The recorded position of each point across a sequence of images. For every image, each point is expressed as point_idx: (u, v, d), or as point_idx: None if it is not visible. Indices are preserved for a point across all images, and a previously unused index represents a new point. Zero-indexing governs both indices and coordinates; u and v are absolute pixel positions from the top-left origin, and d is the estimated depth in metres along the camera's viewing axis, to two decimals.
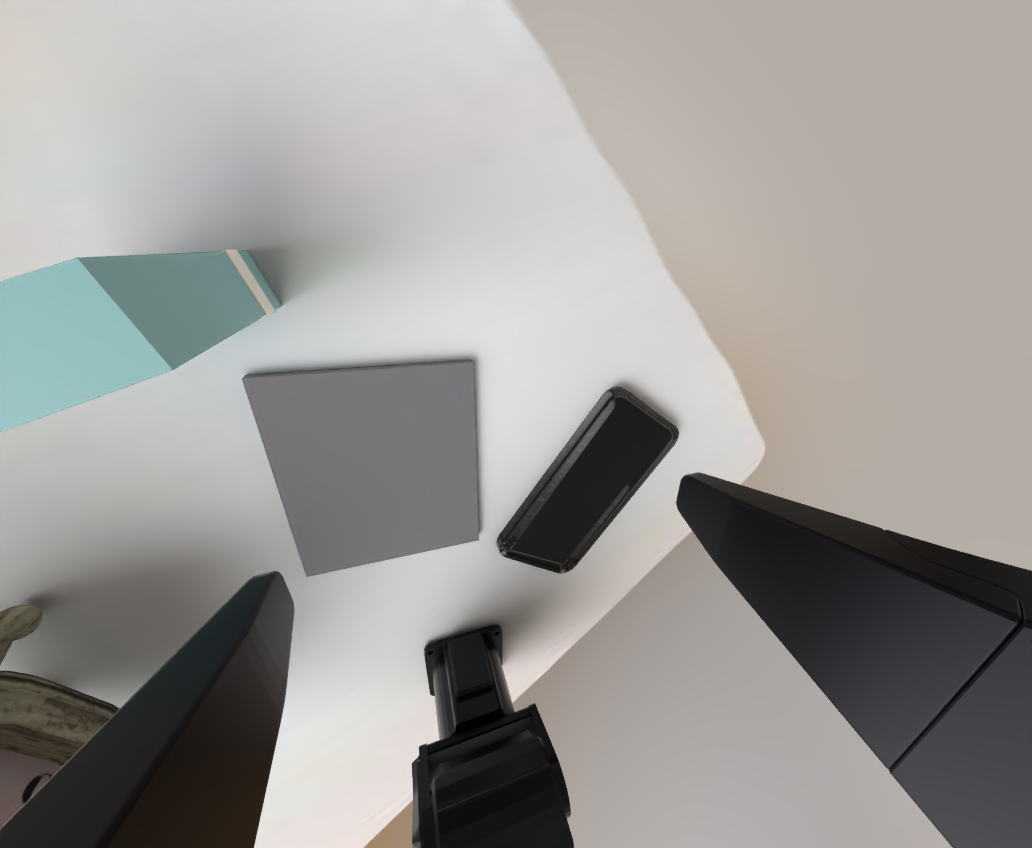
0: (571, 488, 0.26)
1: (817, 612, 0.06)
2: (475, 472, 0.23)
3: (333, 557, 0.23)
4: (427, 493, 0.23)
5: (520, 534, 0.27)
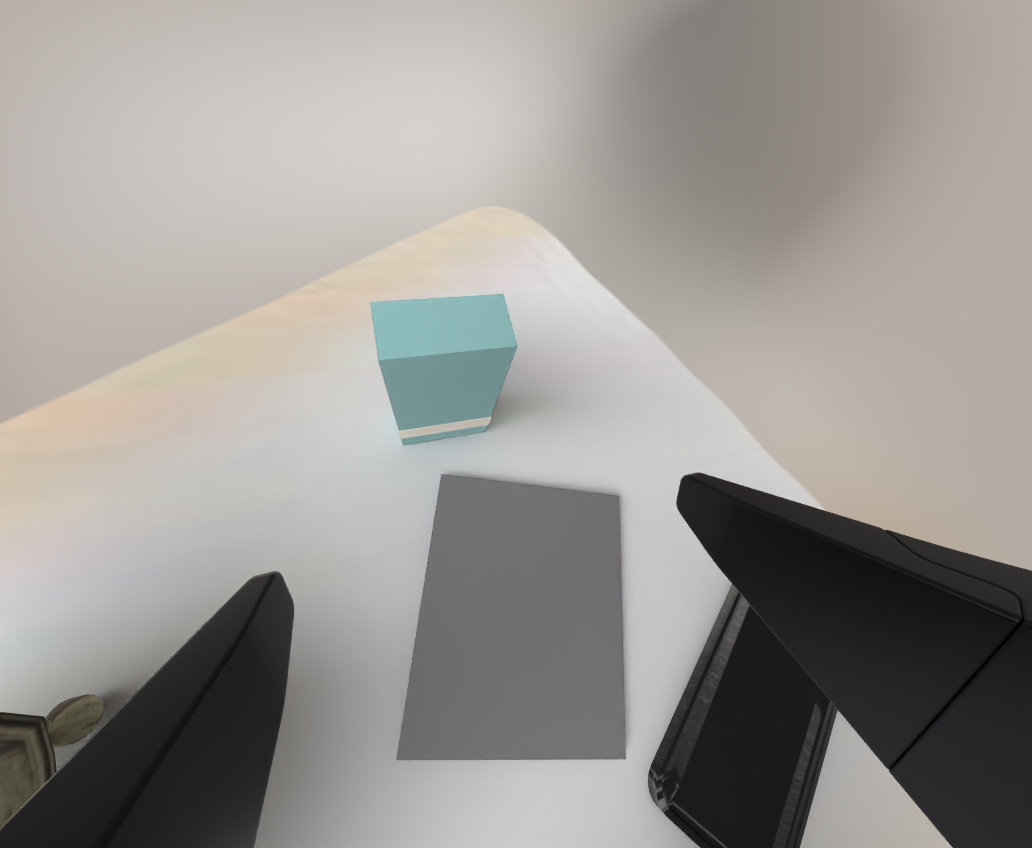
0: (740, 688, 0.20)
1: (817, 612, 0.06)
2: (620, 627, 0.20)
3: (439, 729, 0.17)
4: (566, 645, 0.19)
5: (683, 767, 0.18)
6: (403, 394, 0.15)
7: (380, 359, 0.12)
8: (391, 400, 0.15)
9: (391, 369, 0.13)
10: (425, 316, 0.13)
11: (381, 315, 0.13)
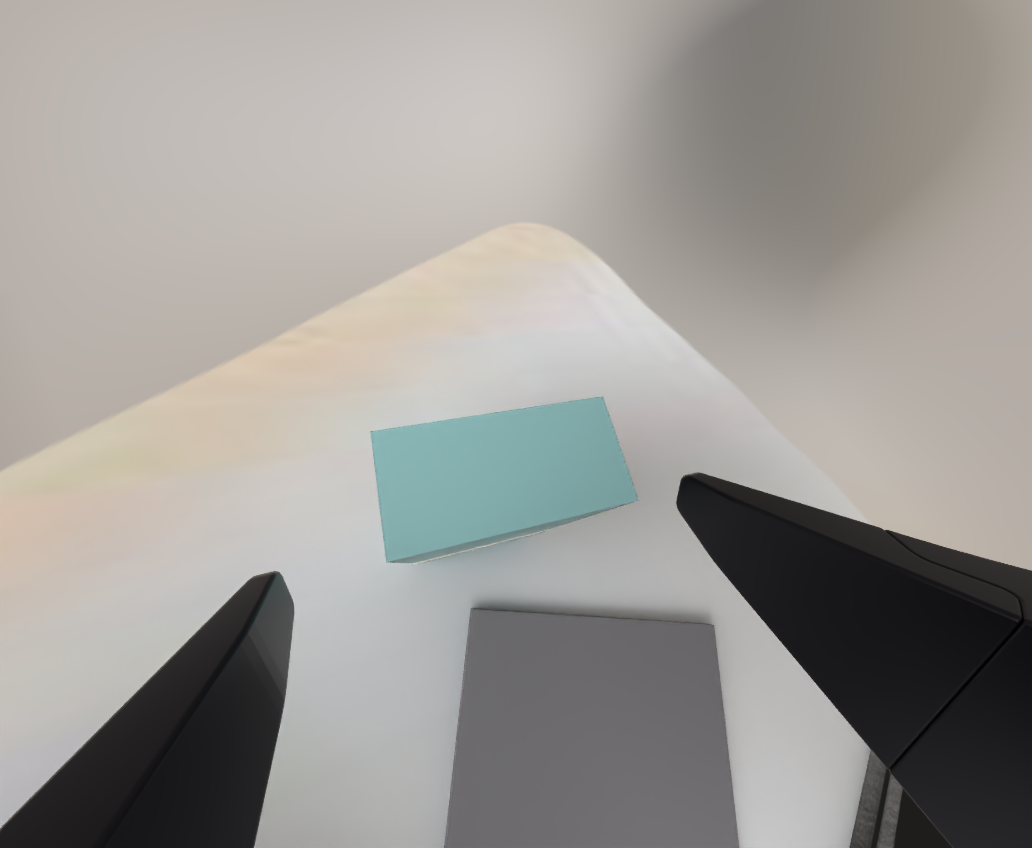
0: None
1: (817, 612, 0.06)
2: (736, 843, 0.14)
3: None
4: None
5: None
6: (427, 556, 0.09)
7: (390, 558, 0.06)
8: (405, 562, 0.09)
9: (410, 557, 0.07)
10: (474, 453, 0.07)
11: (391, 458, 0.07)
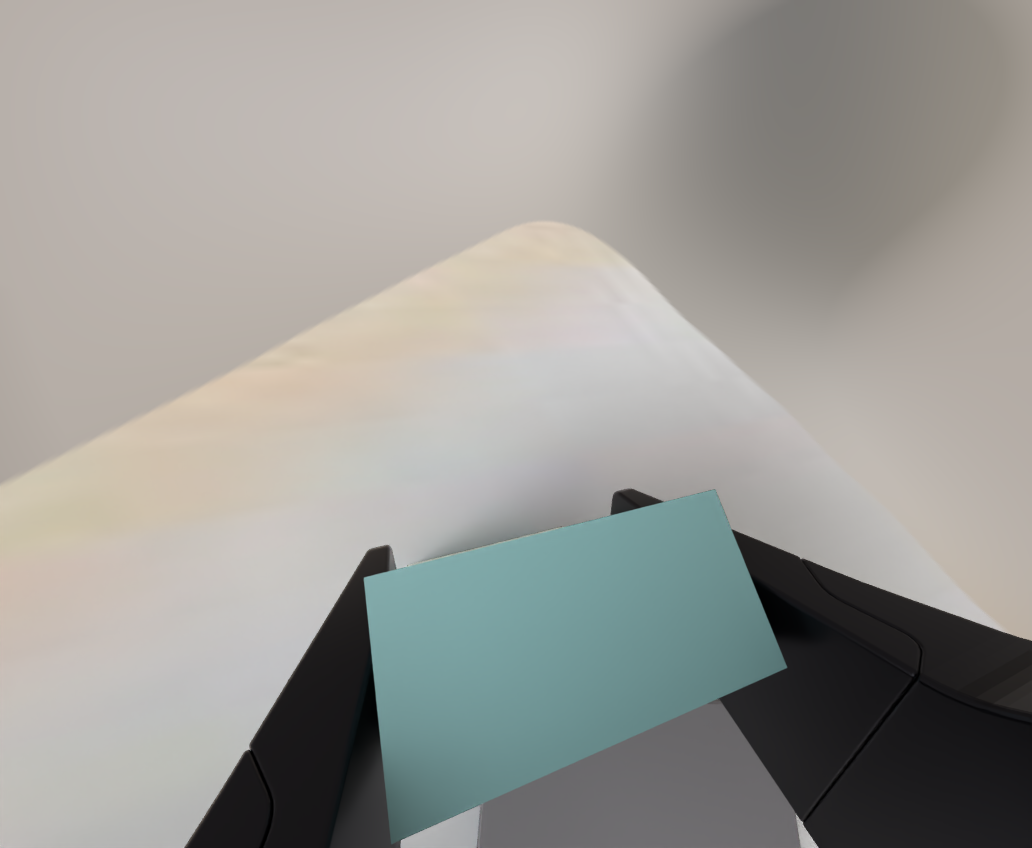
0: None
1: None
2: None
3: None
4: None
5: None
6: None
7: (398, 832, 0.03)
8: None
9: None
10: (532, 605, 0.04)
11: (399, 626, 0.04)
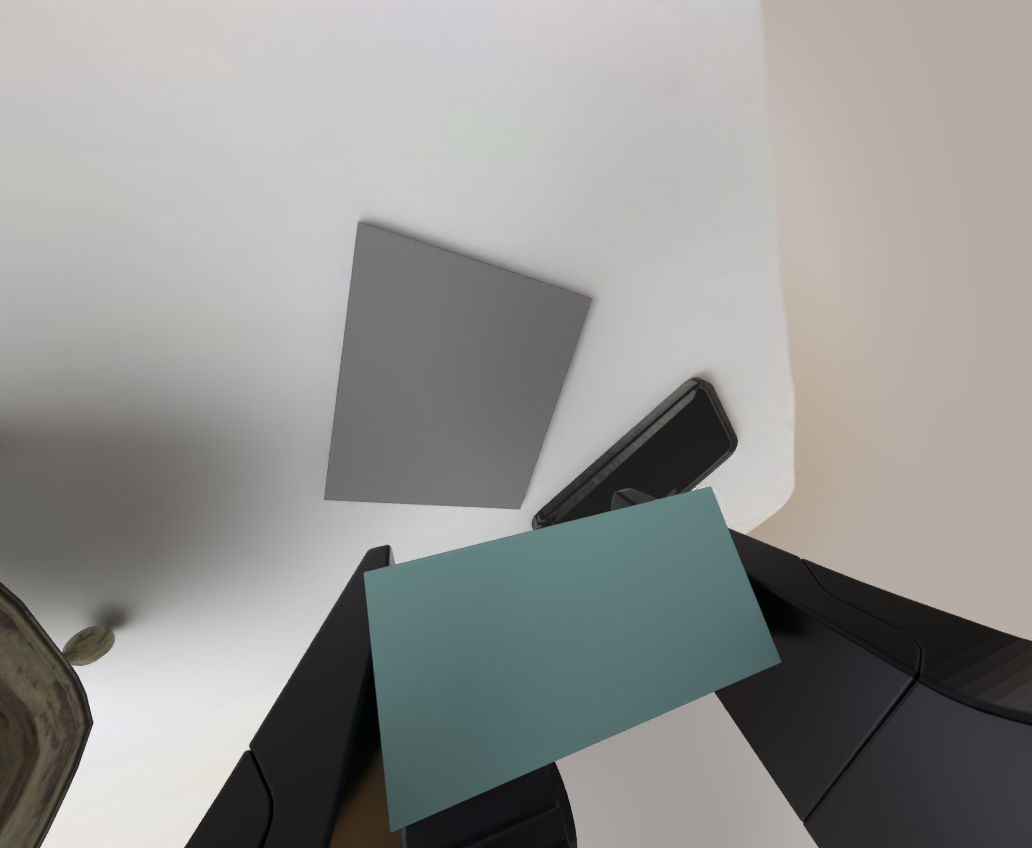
0: (626, 476, 0.24)
1: None
2: (546, 426, 0.21)
3: (363, 483, 0.19)
4: (491, 435, 0.20)
5: (561, 516, 0.24)
6: None
7: (397, 822, 0.04)
8: None
9: None
10: (529, 599, 0.04)
11: (398, 620, 0.04)
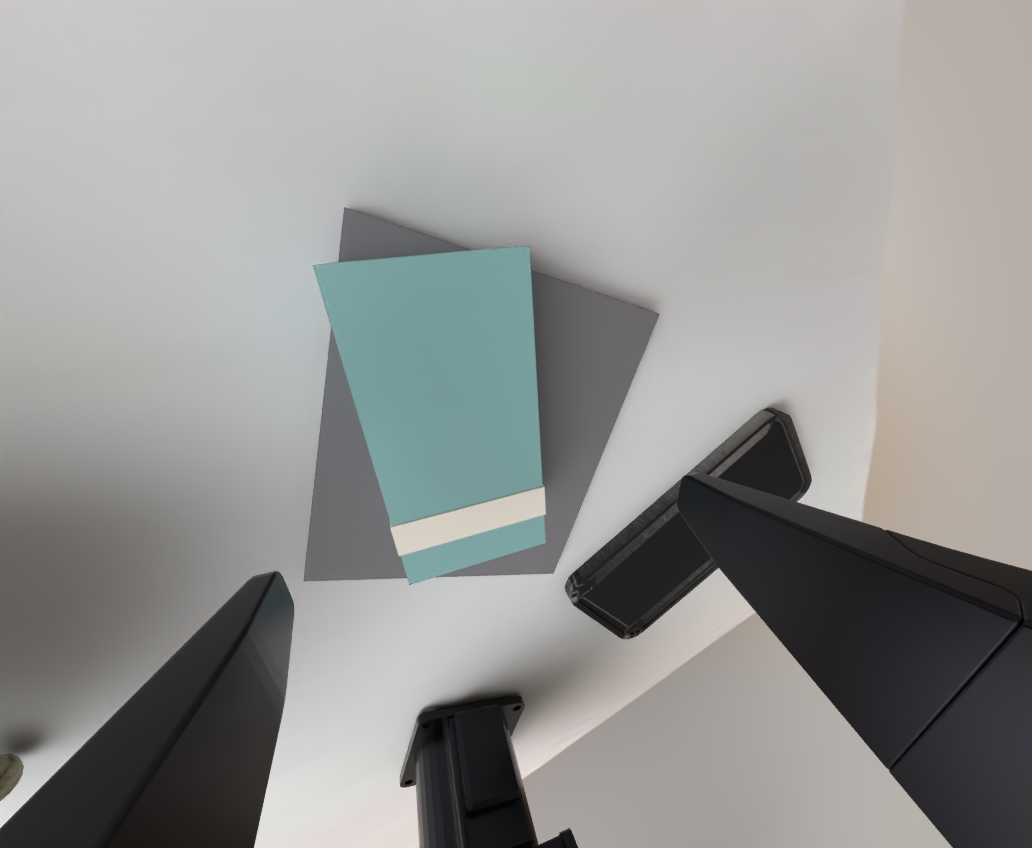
0: (681, 527, 0.20)
1: (817, 612, 0.06)
2: (591, 475, 0.16)
3: (356, 558, 0.14)
4: None
5: (601, 577, 0.19)
6: (376, 390, 0.09)
7: (317, 266, 0.08)
8: (358, 408, 0.09)
9: (340, 299, 0.08)
10: None
11: (338, 262, 0.09)
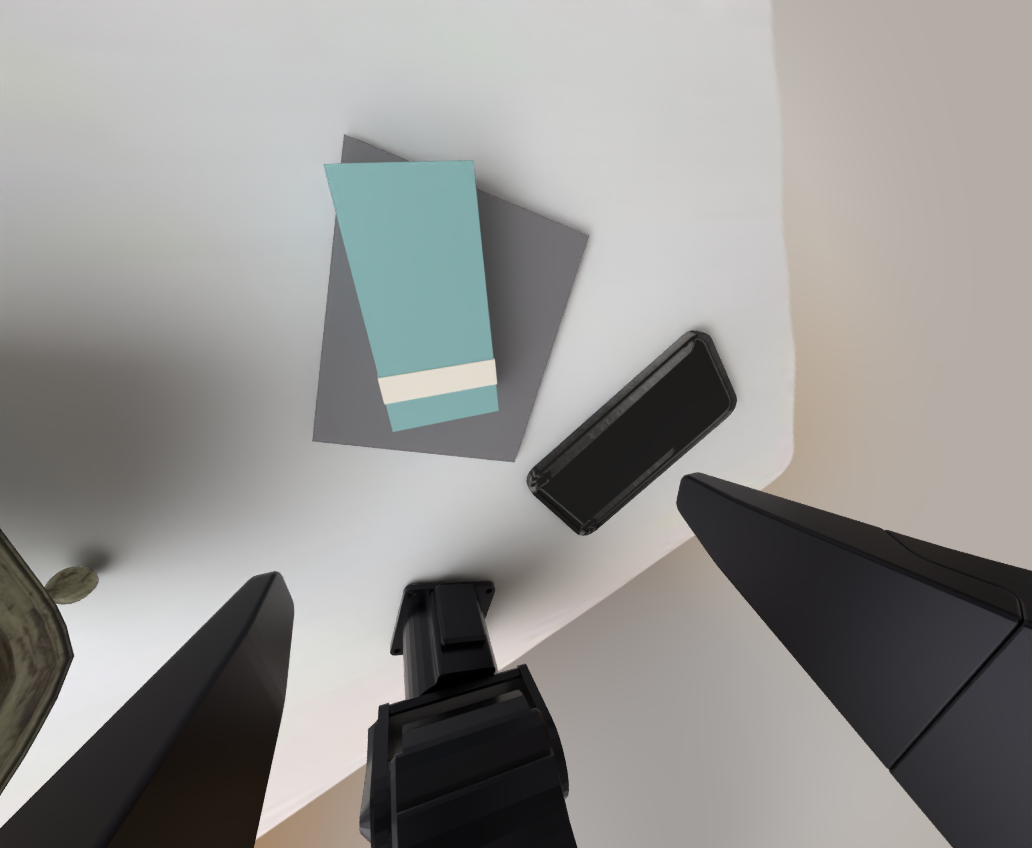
0: (622, 432, 0.24)
1: (817, 612, 0.06)
2: (541, 374, 0.20)
3: (353, 425, 0.18)
4: None
5: (556, 472, 0.24)
6: (366, 263, 0.13)
7: (326, 165, 0.12)
8: (354, 276, 0.13)
9: (341, 190, 0.12)
10: None
11: None
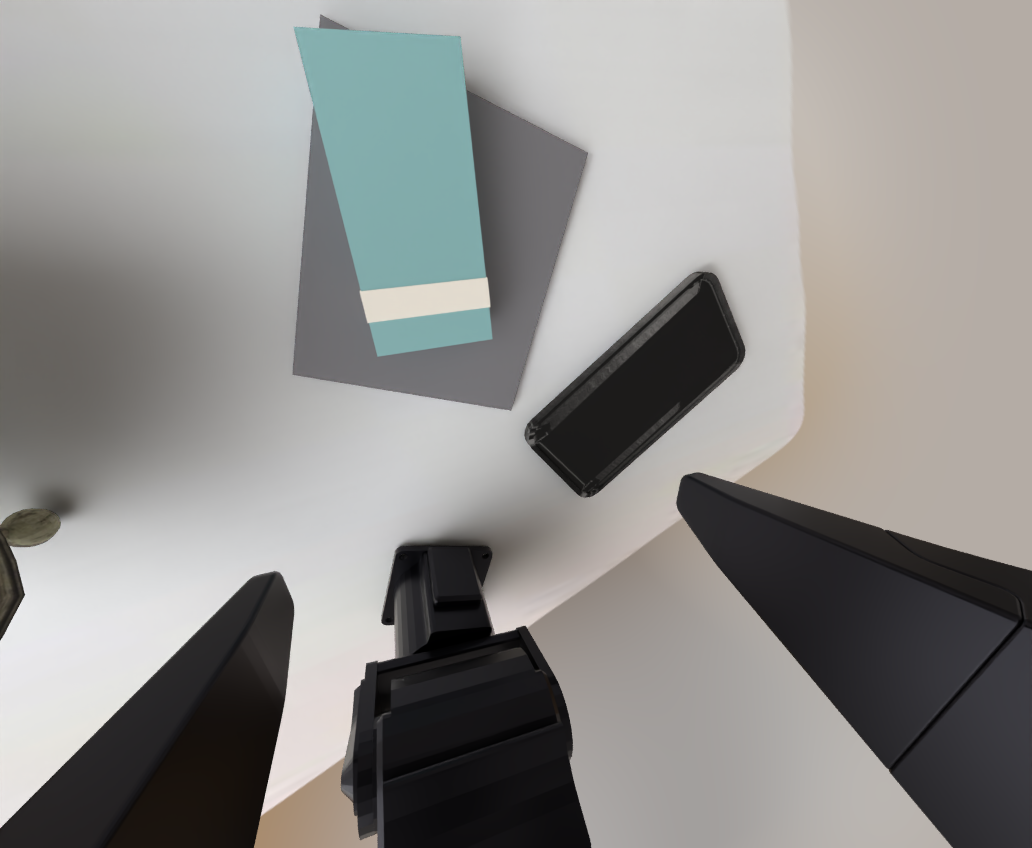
0: (625, 382, 0.23)
1: (817, 612, 0.06)
2: (539, 310, 0.19)
3: (337, 359, 0.17)
4: None
5: (555, 424, 0.22)
6: (344, 152, 0.12)
7: (296, 29, 0.11)
8: (331, 167, 0.12)
9: (314, 60, 0.11)
10: None
11: None
